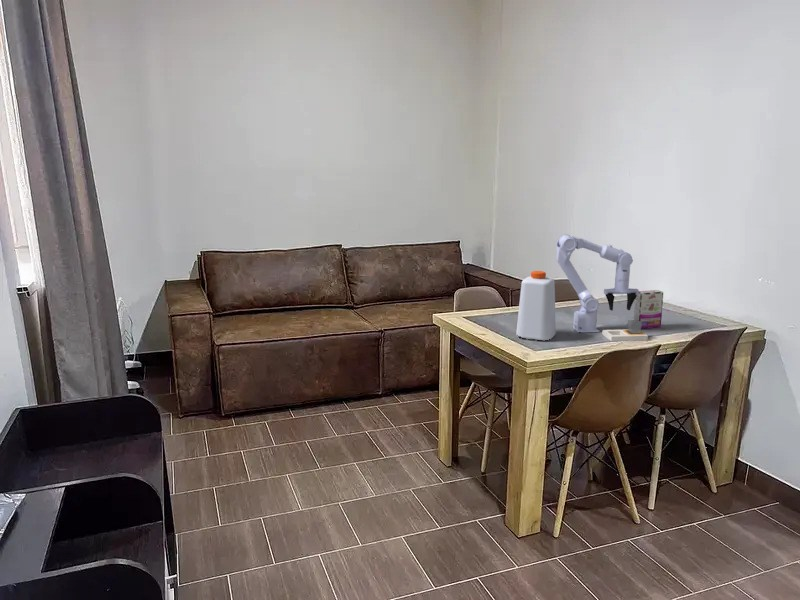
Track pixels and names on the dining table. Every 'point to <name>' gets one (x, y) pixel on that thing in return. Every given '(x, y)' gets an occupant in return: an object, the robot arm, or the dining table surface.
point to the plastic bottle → (537, 307)
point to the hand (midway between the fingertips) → (619, 309)
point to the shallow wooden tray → (623, 335)
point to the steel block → (634, 327)
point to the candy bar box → (649, 308)
